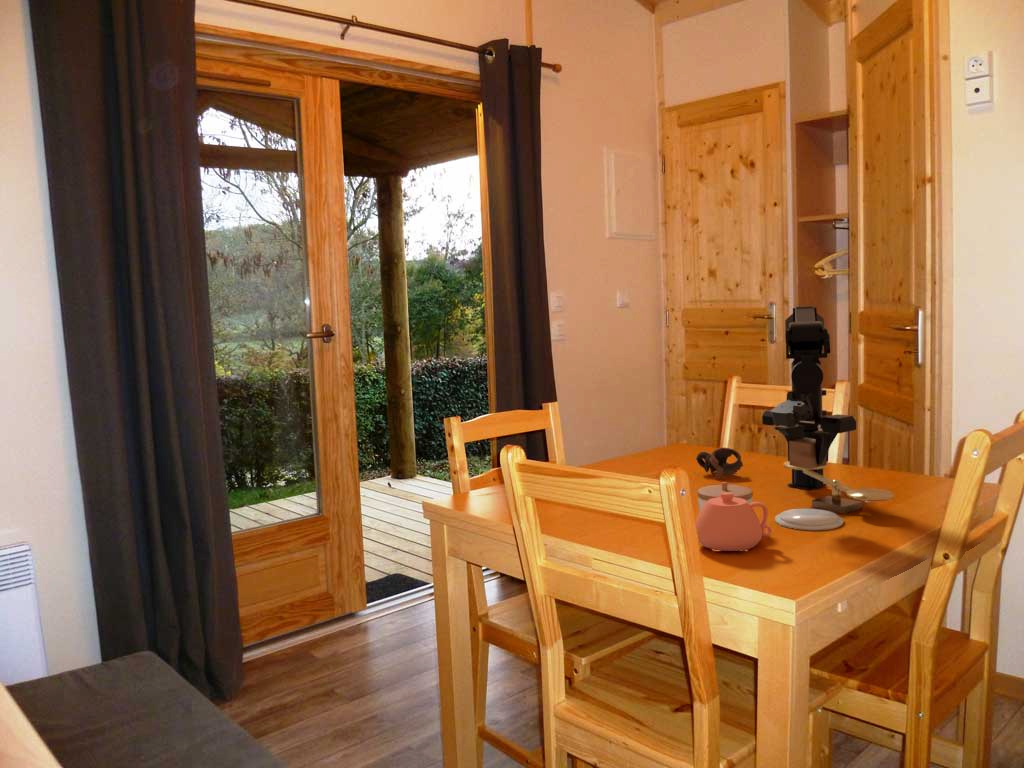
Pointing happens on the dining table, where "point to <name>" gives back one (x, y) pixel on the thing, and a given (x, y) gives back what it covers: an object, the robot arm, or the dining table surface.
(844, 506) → the balance
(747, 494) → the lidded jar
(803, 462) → the block
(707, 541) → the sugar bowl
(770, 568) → the dining table surface
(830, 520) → the dish
